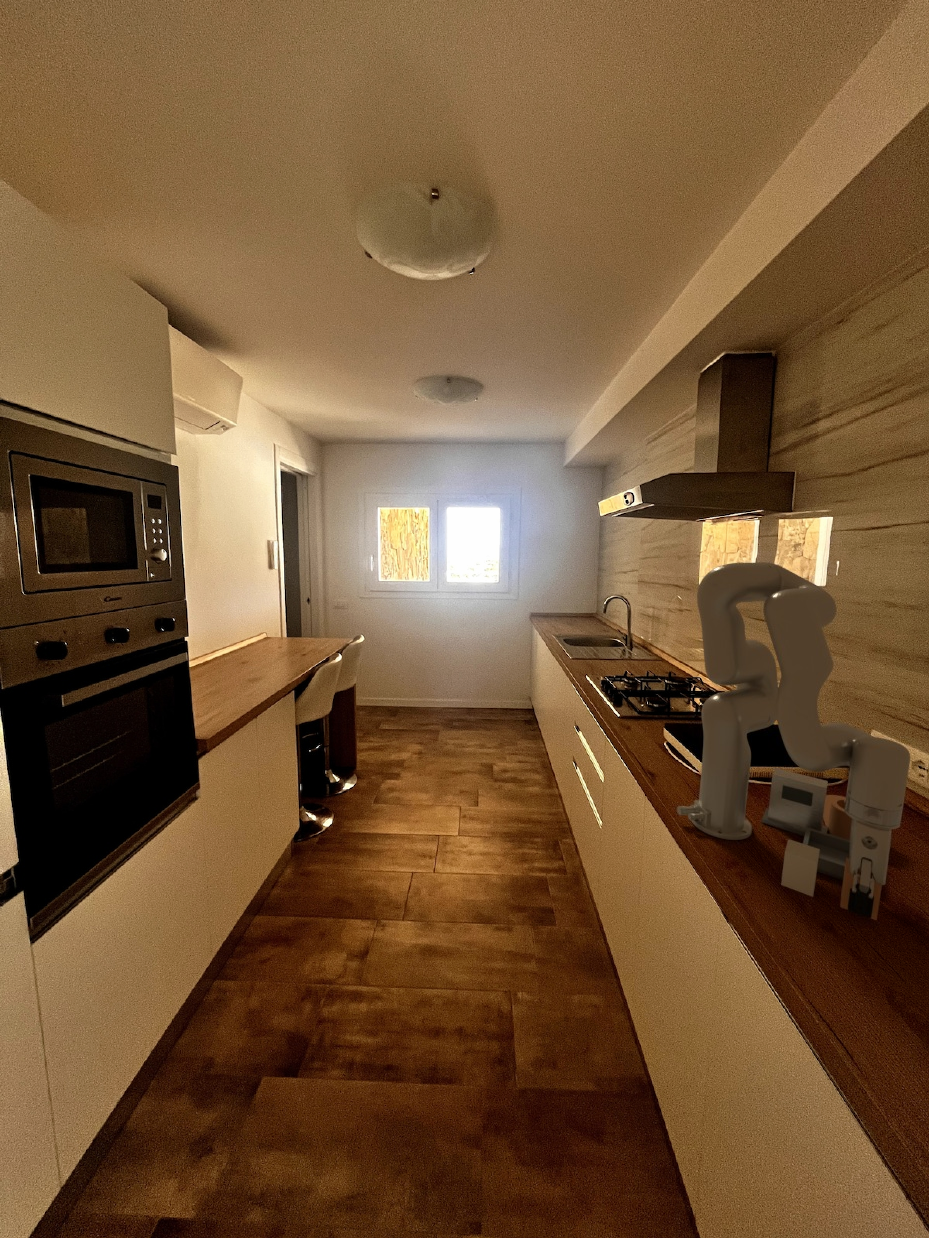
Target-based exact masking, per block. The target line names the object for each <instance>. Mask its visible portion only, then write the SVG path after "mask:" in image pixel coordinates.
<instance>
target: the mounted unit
mask: <svg viewBox="0 0 929 1238" xmlns="http://www.w3.org/2000/svg"><path fill="white" fill-rule="evenodd" d="M771 776H772V778H771V787H770V794H769V802H768V803H769V804H768V807H766V808H765V811H764V813H763V815H762V817H761V824H764V825H767V826H769V827H770V826H771V827H775V828H777V829H781V830H782V831H787V832H790V833H793V834H796V835H800V836H802V837H804V836H805V832H806V828H811V829H814V830H817V831H820V832H824V833H827V834H828V831H827V828H828V826H826V825H824V824H823V823H824V822H823V821H824V818H823V815H824V807H825V799H826V795H827V789H828V783H829V782H828V780H824V779H820V778H817V777H813V776H808V775H804V774H800V773H797V772H794V771H789V770H785V769H781V768H777V767H774V770H773V773H772V775H771Z"/></svg>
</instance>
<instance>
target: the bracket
mask: <svg viewBox="0 0 929 1238" xmlns="http://www.w3.org/2000/svg"><path fill="white" fill-rule="evenodd" d="M845 802H846V796H842V795H836V794H826V799H825V807H824V815H823V821H824V824H825V826H828V828H827V833H828V834H830V835H833V836H837V837H840V838H843V839H847V840H850V832H851V823H852V818H851V817H850V816H848V815H847V814H846V813H845V810H844V809H845Z"/></svg>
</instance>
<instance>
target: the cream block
mask: <svg viewBox="0 0 929 1238" xmlns="http://www.w3.org/2000/svg"><path fill="white" fill-rule="evenodd" d="M819 851H820V849H817V848H814V847H811V846H808V845H805V844H803V842H802V843H801V842H799V841H796V840H792V839H787V843H786V847H785V850H784V856H783V857H784V858H783V866H782V867H783V868H782V874H781V886H783V887H786V888H789V889H791V890H794V891H796V892H799V893H802V894H805V895H807V896H809V897H814V895H815V894H814V893H815V887H816V881H817V880H816V879H817V873H818V872H817V866H818V858H819Z"/></svg>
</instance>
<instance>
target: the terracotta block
mask: <svg viewBox="0 0 929 1238" xmlns="http://www.w3.org/2000/svg"><path fill="white" fill-rule="evenodd" d="M857 874H860V875H861V871H859V870H857ZM853 878H854V875H852V874H851V873H850V868H849V859H848V858H846V863H845V870H844V878H843V880H842V886H841V895H840V905H839V906H840V908H842V909H845V910H847V911H849V910H848V901H849V894H850V888H852V886H853ZM870 878H872V875H871V874H870ZM858 883H860V878H858V879H857V884H858ZM869 886H870V885H869ZM882 887H883V885H880V884H879V883H876V881H875V882H874V890H873V896H874V902H873V909H872V916H871V918H870V920H874V921H877V919H878V912H879V908H880V900H881V895H882V893H881V892H882V889H883V888H882Z"/></svg>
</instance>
